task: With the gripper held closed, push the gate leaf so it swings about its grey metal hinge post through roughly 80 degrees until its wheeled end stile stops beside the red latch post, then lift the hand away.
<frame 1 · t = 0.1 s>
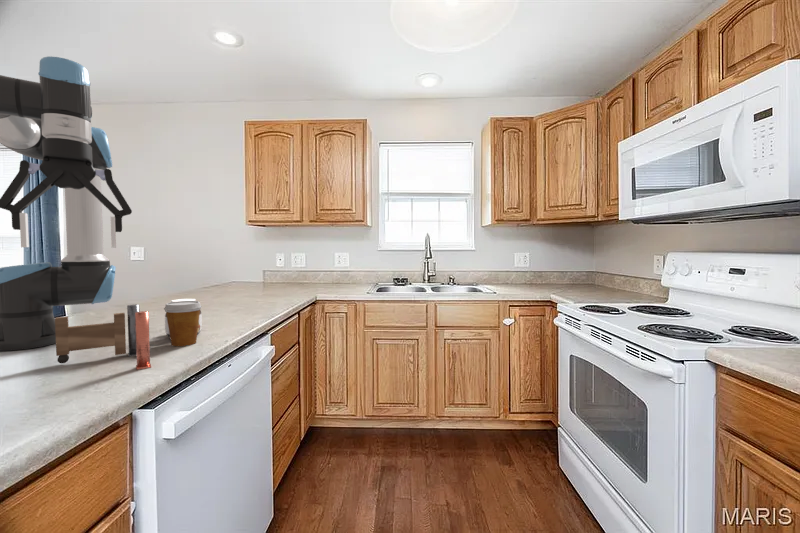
hand: (71, 247, 77), 28 cm above the worktop, tool pointing down, fingers open, 13 cm apart
disposable coffee cup: (184, 344, 110), on the worktop
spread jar: (181, 336, 120), on the worktop
gate: (92, 336, 93), point 6 cm above the worktop, hinge at 0.0°
gate posts: (134, 354, 99), on the worktop
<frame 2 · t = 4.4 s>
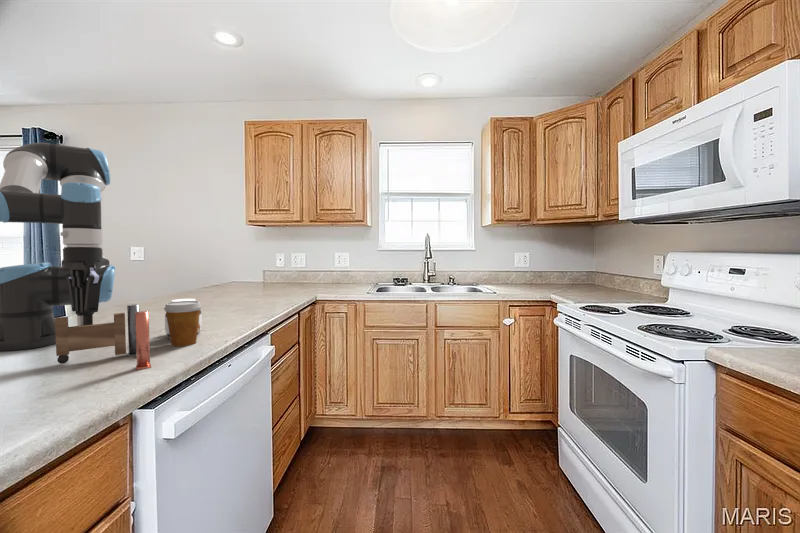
hand: (85, 340, 95), 5 cm above the worktop, tool pointing down, fingers closed
gate: (92, 337, 93), point 6 cm above the worktop, hinge at 1.0°, touching gripper
everything else where it was.
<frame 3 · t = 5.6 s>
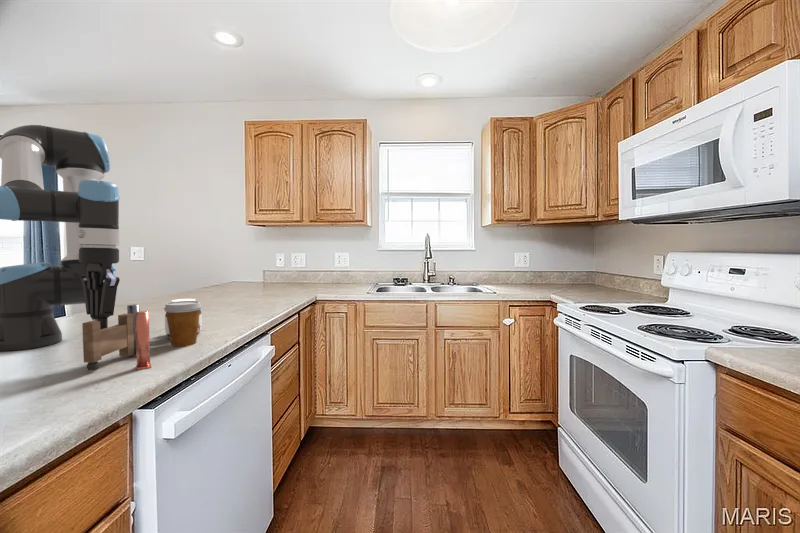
hand: (100, 344, 91), 5 cm above the worktop, tool pointing down, fingers closed
gate: (110, 340, 90), point 6 cm above the worktop, hinge at 54.1°, touching gripper
everything else where it was.
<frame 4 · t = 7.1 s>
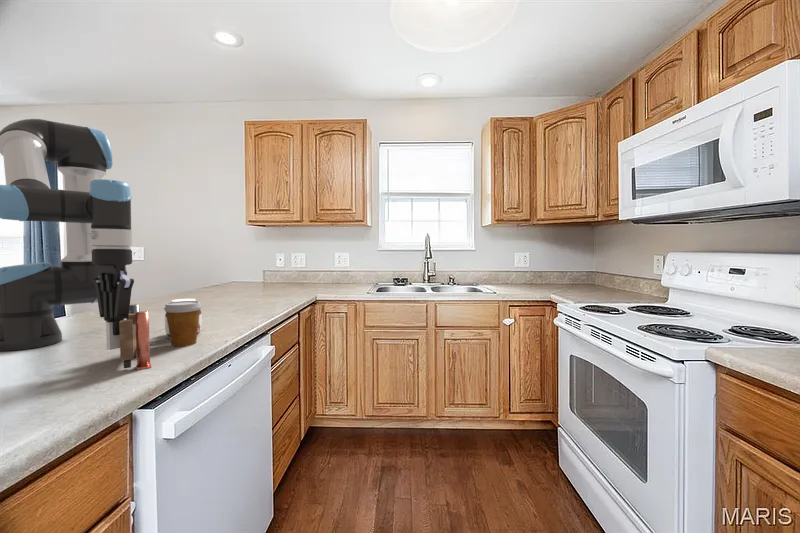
hand: (114, 348, 89), 4 cm above the worktop, tool pointing down, fingers closed
gate: (129, 339, 91), point 6 cm above the worktop, hinge at 81.6°, touching gripper
everything else where it was.
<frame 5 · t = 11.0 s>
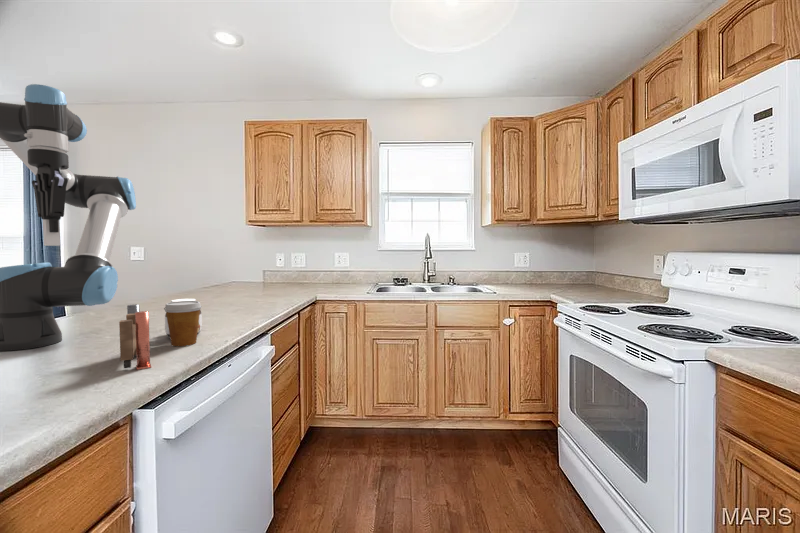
hand: (52, 245, 96), 28 cm above the worktop, tool pointing down, fingers closed
gate: (129, 339, 91), point 6 cm above the worktop, hinge at 81.6°
everything else where it was.
at the end: gate at +82° (first picture: +0°) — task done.
